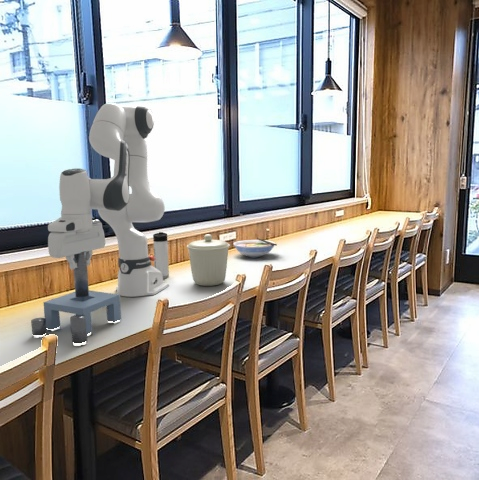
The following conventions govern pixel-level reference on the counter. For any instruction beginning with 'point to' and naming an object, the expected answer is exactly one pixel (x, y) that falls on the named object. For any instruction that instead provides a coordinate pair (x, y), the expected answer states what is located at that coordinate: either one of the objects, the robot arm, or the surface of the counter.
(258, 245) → the ramen bowl
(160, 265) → the travel mug
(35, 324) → the short steel pin
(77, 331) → the medium steel pin
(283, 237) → the counter surface
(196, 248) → the canister
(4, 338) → the counter surface
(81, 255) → the tall steel pin
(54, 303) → the grey legged square frame
